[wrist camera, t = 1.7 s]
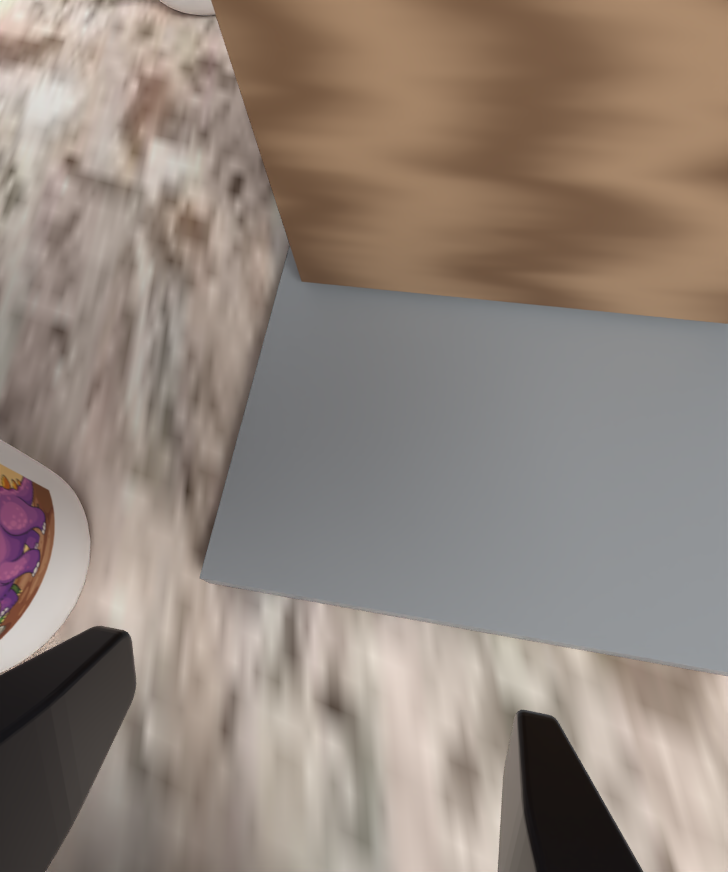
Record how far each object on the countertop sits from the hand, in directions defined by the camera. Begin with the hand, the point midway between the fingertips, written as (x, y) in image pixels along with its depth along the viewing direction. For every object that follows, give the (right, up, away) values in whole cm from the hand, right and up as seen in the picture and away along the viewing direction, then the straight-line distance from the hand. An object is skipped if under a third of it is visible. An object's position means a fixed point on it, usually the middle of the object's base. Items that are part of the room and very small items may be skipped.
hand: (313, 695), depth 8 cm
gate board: (+10, +5, +16) cm, 19 cm away
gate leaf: (+6, +8, +16) cm, 19 cm away
